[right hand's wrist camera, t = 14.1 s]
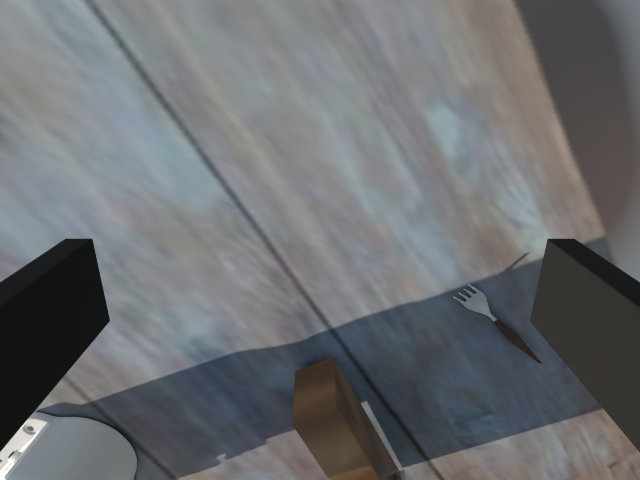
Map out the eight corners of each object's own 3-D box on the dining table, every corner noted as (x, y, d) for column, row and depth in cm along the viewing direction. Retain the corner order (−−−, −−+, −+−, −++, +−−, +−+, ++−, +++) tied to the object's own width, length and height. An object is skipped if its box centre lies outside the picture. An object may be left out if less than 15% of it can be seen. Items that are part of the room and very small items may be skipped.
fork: (530, 367, 53) (538, 377, 51) (447, 290, 49) (452, 298, 47) (547, 354, 53) (556, 365, 51) (465, 275, 48) (470, 283, 47)
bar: (295, 371, 52) (291, 423, 44) (333, 356, 51) (336, 406, 43) (368, 488, 59) (375, 550, 52) (402, 476, 59) (415, 537, 51)
